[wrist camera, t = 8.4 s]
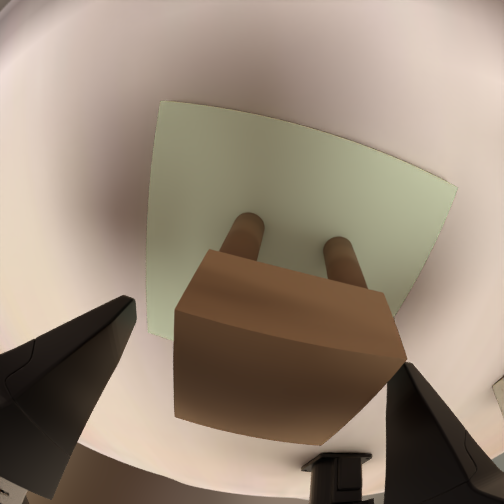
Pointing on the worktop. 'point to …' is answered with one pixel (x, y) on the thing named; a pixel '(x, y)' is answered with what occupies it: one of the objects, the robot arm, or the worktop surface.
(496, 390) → the supplement box
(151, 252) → the sage mat
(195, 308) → the toy stool
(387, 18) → the worktop surface
